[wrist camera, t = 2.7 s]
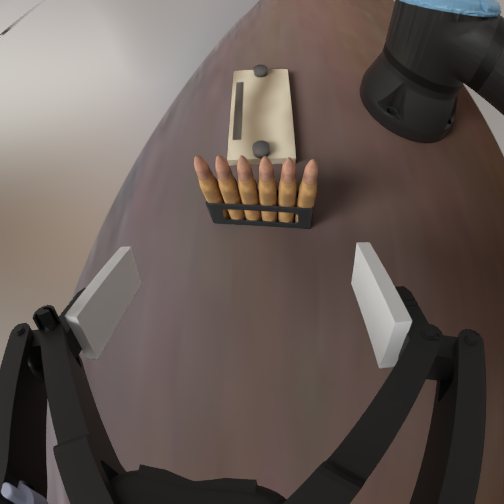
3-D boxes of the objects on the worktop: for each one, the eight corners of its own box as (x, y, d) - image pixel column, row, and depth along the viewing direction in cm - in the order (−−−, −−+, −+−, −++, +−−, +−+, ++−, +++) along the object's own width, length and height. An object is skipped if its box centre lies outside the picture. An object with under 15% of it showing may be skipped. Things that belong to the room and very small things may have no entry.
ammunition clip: (213, 223, 33) (182, 165, 22) (215, 208, 34) (187, 146, 22) (310, 229, 32) (326, 171, 21) (310, 213, 32) (325, 150, 21)
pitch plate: (287, 74, 39) (287, 64, 37) (295, 163, 34) (296, 153, 32) (235, 76, 40) (233, 66, 38) (228, 165, 35) (226, 155, 33)
